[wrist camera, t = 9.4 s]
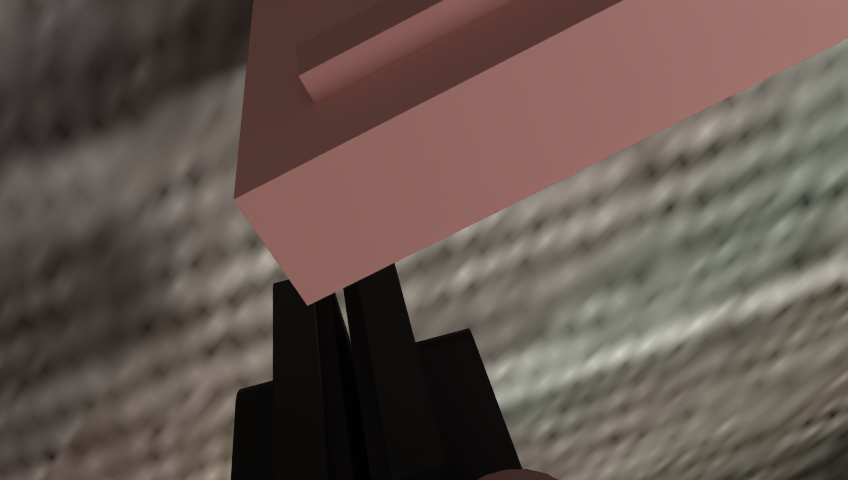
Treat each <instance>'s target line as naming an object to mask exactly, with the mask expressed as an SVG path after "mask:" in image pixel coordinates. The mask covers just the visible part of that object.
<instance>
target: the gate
mask: <svg viewBox="0 0 848 480" xmlns="http://www.w3.org/2000/svg"><path fill="white" fill-rule="evenodd" d="M847 38H848V0H253V8H252V18H251V29H250V39H249V49H248V59H247V69H246V79H245V90H244V100H243V110H242V120H241V130H240V140H239V150H238V161H237V171H236V181H235V191H234V201H235V202H236V204H237V205H238V207H239V208H240V209H241V211H242V212H243V214H244V215H245V217H246V218H247V219H248V221H249V222H250V224H251V225H252V227H253V228H254V230H255V231H256V232H257V234H258V235H259V237H260V238H261V240H262V241H263V242H264V244H265V245H266V247H267V248H268V250H269V251H270V253H271V254H272V255H273V257H274V258H275V260H276V261H277V263H278V264H279V265H280V267H281V268H282V270H283V271H284V273H285V274H286V276H287V277H288V278H289V280H290V281H291V283H292V284H293V286H294V287H295V288H296V290H297V291H298V293H299V294H300V296H301V297H302V299H303V300H304V301H305V303H306V304H307V306H308V305H310V304H312V303H314V302H316V301H318V300H320V299H322V298H324V297H326V296H328V295H330V294H332V293H334V292H336V291H338V290H341V289H343V288H345V287H347V286H349V285H351V284H353V283H355V282H357V281H359V280H361V279H363V278H365V277H367V276H369V275H371V274H373V273H375V272H377V271H379V270H381V269H383V268H385V267H387V266H389V265H391V264H393V263H395V262H397V261H399V260H401V259H403V258H405V257H407V256H409V255H411V254H413V253H415V252H417V251H419V250H421V249H423V248H425V247H427V246H429V245H431V244H433V243H435V242H437V241H439V240H441V239H443V238H445V237H448V236H450V235H452V234H454V233H456V232H458V231H460V230H462V229H464V228H466V227H468V226H470V225H472V224H474V223H476V222H478V221H480V220H482V219H484V218H486V217H488V216H490V215H492V214H494V213H496V212H498V211H500V210H502V209H504V208H506V207H508V206H510V205H512V204H514V203H516V202H518V201H520V200H522V199H524V198H526V197H528V196H530V195H532V194H534V193H536V192H538V191H540V190H542V189H544V188H546V187H548V186H550V185H552V184H554V183H557V182H559V181H561V180H563V179H565V178H567V177H569V176H571V175H573V174H575V173H577V172H579V171H581V170H583V169H585V168H587V167H589V166H591V165H593V164H595V163H597V162H599V161H601V160H603V159H605V158H607V157H609V156H611V155H613V154H615V153H617V152H619V151H621V150H623V149H625V148H627V147H629V146H631V145H633V144H635V143H637V142H639V141H641V140H643V139H645V138H647V137H649V136H651V135H653V134H655V133H657V132H659V131H661V130H664V129H666V128H668V127H670V126H672V125H674V124H676V123H678V122H680V121H682V120H684V119H686V118H688V117H690V116H692V115H694V114H696V113H698V112H700V111H702V110H704V109H706V108H708V107H710V106H712V105H714V104H716V103H718V102H720V101H722V100H724V99H726V98H728V97H730V96H732V95H734V94H736V93H738V92H740V91H742V90H744V89H746V88H748V87H750V86H752V85H754V84H756V83H758V82H760V81H762V80H764V79H766V78H768V77H770V76H773V75H775V74H777V73H779V72H781V71H783V70H785V69H787V68H789V67H791V66H793V65H795V64H797V63H799V62H801V61H803V60H805V59H807V58H809V57H811V56H813V55H815V54H817V53H819V52H821V51H823V50H825V49H827V48H829V47H831V46H833V45H835V44H837V43H839V42H841V41H843V40H845V39H847Z"/></svg>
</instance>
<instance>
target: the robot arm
mask: <svg viewBox="0 0 848 480" xmlns="http://www.w3.org/2000/svg"><path fill="white" fill-rule="evenodd" d="M343 290H344V297H345V304H346V311H347V318H348V325H349V332H350V339H351V342H350V339H349V336H348V332H347V329H346V326H345V323H344V320H343V317H342V313H341V310H340V307H339V304H338V301H337V298H336V294H335V292H334V293H332V294H330V295H328V296H326V297H324V298H322V299H320V300H318V301H316V302H314V303H312V304H310V305H308V306H307V304H306V303H305V301H304V300H303V299H302V297H301V296H300V294H299V293H298V291H297V290H296V288H295V287H294V286H293V284H292V283H291V281H290V280H289V279H288V280H285V281H281V282H277V283H274V284H273V381H269V382H265V383H262V384H258V385H254V386H250V387H247V388H243V389H240V390H239V391H238V393H237V397H236V405H235V421H234V437H233V453H232V470H231V480H557V479H556V478H554V477H552V476H550V475H548V474H545V473H541V472H537V471H533V470H529V469H522V467H521V464H520V461H519V459H518V456H517V453H516V451H515V448H514V445H513V443H512V440H511V437H510V435H509V432H508V429H507V427H506V424H505V421H504V419H503V416H502V413H501V410H500V408H499V405H498V402H497V400H496V397H495V394H494V392H493V389H492V386H491V384H490V381H489V378H488V376H487V373H486V370H485V368H484V365H483V362H482V360H481V357H480V354H479V351H478V349H477V346H476V343H475V341H474V338H473V336H472V333H471V331H470V329H469V328H468V329H464V330H461V331H457V332H453V333H449V334H446V335H442V336H438V337H434V338H431V339H427V340H423V341H419V342H416V343H415V339H414V335H413V332H412V328H411V324H410V320H409V316H408V313H407V309H406V305H405V301H404V297H403V293H402V290H401V286H400V282H399V278H398V274H397V271H396V267H395V263H393V264H391V265H389V266H387V267H385V268H383V269H381V270H379V271H377V272H375V273H373V274H371V275H369V276H367V277H365V278H363V279H361V280H359V281H357V282H355V283H353V284H351V285H349V286H347V287H345V288H343Z"/></svg>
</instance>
